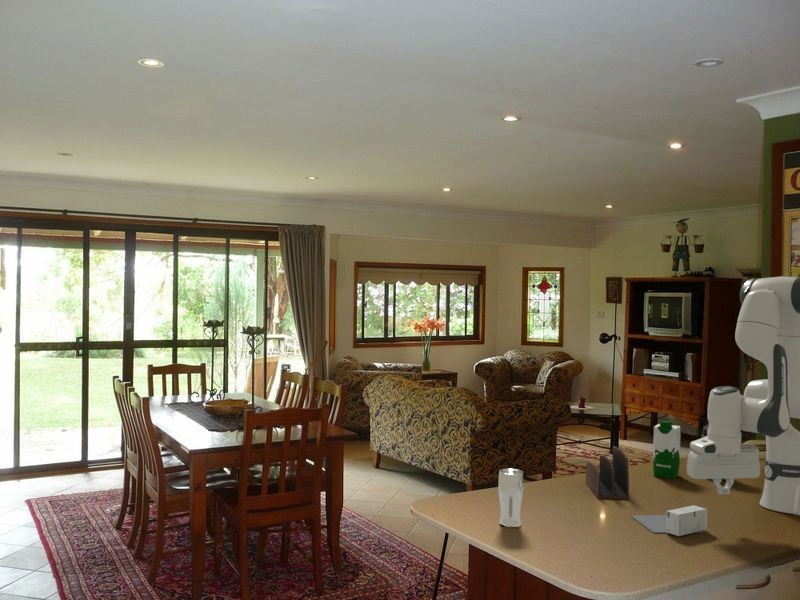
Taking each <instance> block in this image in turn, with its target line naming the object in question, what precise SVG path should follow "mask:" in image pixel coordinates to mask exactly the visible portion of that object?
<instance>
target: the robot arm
mask: <svg viewBox="0 0 800 600" xmlns="http://www.w3.org/2000/svg"><path fill="white" fill-rule="evenodd" d="M739 299H740V303H741V307H740V310H739V314H738V317H737V322H736V327H735V333H734V337H735V338H734V339H735V342H736V343H735V344H736V345H737V347H738V348H739V349H740V350H741V351H742V353H744V354H746V355H747V356H749V357H751V358H753V359H755V360H758V361H759V362H761V363H762V364H764V365H765V368H766V370H767V379H757V380H756V379H755V380H751V381H750V382H749V383H748V384H747V385H746V387H745V388H744V392H743V395H742V394H741V392H740V390H739V388H738V387H735V386H731V385H724V386H722V385H721V386H717V387H714V388H712V389H711V391H710V392H709V397H708V400H707V401H708V402H707V416H706V417H707V421H708V425H709V428H708V431H707V436H706V437H704V438H702V437H701V438H698V439H696V440H692V441H691V442H690V443H689V448H690V449H691V450H690V452H689V453H688V456H687V462H686V473H687V475H688V476H689V477H690V478H692V479H694V480H712V481H713V483H714V486H715V487H716V494H718V495H730V493H731V489H732V486H733V485H734V483H735V479H758V478H759V477H760V475H761V465H760V464H761V463H760V450H759V447H757V445H756V446H755V444H742V432H741V431H743V432H748V433H754V434H760V435H762V436H765V444H766V446H765V447H766V449H765V450H766V451H765V453H766V454H765V455H766V458H765V459H764V466H763V467H764V469H763V470H764V471H763V472H764V485H763V491H762V494H761V497H760V501H759V505H760V506H761V507H763V508H766V509H768V510H772V511H774V512H779V513H785V514H792V515H795V516H800V431H799V430H798V429H796V428H795V427H794V425H792V423H791V418H793V419H800V276H798V277H795V276H773V277H763V278H760V277H754V278H751V279H748V280H746V281H744V283H743V284H742V286H741V287H740V291H739ZM722 479H725V480H724V481H726V483H725V484H724V486H722V485H721V483H722V482H723V480H722Z"/></svg>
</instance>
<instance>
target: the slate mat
mask: <svg viewBox="0 0 800 600" xmlns="http://www.w3.org/2000/svg"><path fill="white" fill-rule="evenodd" d="M630 517H631V518H632V519H633V520H634V521H635V522H637V523H639V524H640V525H641V526H643V527H644V528H645V529H647V530H648V531H649V532H651V533H652V534H668V533H667V532H666V514H651V515H650V514H649V515H640V514H639V515H630ZM706 532H707V531H706V530H703V531H699V532H694V533H706ZM694 533H693V534H694Z"/></svg>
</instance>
